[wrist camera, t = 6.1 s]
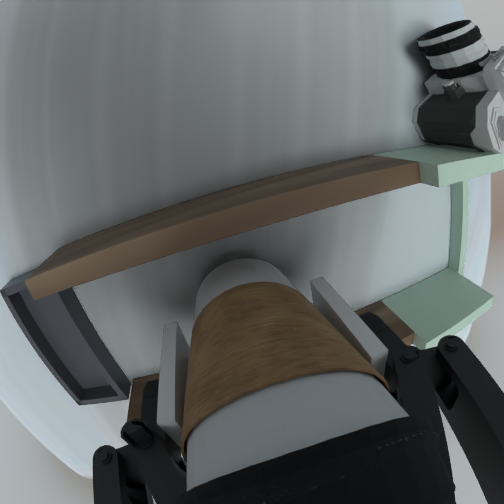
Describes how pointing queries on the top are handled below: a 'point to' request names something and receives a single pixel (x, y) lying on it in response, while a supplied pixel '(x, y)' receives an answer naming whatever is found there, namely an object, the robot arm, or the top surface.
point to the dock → (450, 279)
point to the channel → (224, 229)
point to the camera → (462, 90)
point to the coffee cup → (293, 406)
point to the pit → (67, 343)
